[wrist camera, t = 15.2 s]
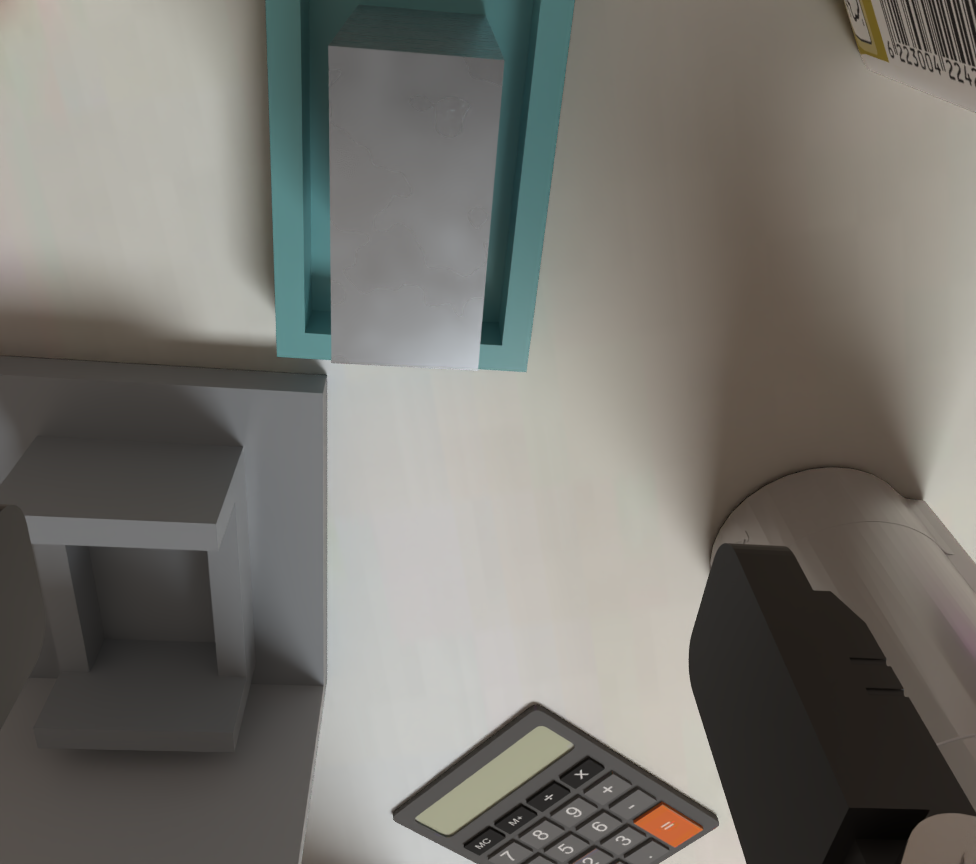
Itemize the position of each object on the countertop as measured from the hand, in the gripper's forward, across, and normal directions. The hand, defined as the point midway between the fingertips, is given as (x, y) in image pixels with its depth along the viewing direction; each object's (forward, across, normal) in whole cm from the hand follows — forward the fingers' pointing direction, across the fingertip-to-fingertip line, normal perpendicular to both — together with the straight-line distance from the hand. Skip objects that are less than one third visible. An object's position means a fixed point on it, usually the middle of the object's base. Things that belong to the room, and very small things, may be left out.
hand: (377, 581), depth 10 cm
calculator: (+24, -10, +37) cm, 45 cm away
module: (+23, 0, 0) cm, 23 cm away
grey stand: (+23, +10, +18) cm, 31 cm away
